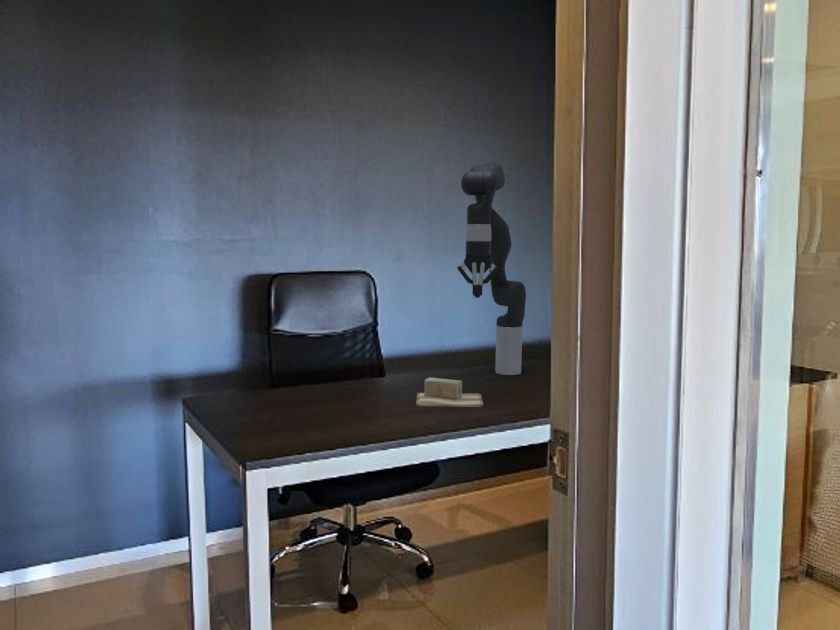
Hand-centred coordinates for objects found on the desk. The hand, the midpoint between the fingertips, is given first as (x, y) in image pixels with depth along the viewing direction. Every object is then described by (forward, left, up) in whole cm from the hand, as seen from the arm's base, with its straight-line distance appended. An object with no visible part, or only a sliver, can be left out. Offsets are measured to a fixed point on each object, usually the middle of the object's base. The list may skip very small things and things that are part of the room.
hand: (477, 297), depth 221 cm
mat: (0, -8, -32) cm, 33 cm away
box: (-1, -5, -29) cm, 29 cm away
